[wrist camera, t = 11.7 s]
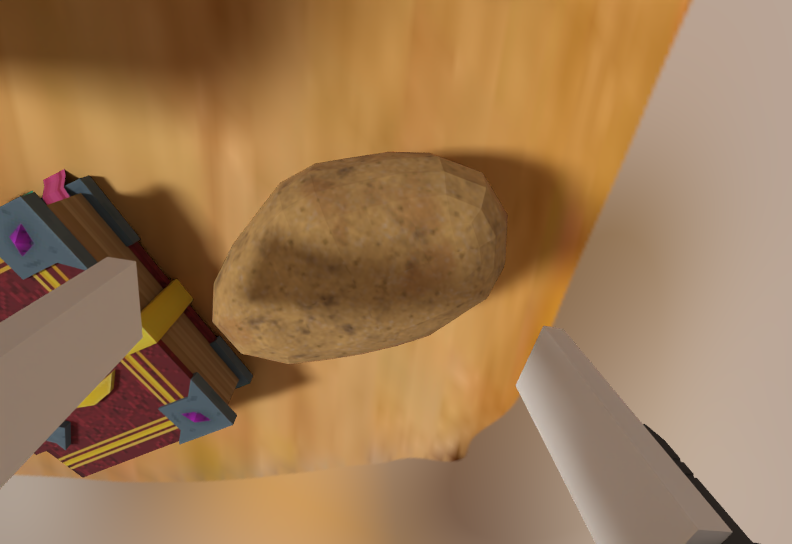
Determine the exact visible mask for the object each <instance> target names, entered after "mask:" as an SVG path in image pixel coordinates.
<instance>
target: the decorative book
mask: <svg viewBox="0 0 792 544" xmlns="http://www.w3.org/2000/svg"><path fill="white" fill-rule="evenodd" d="M65 176H66V175H65V170H62V171H60V172H58V173H56V174H54V175H52V176H50V177H48V178H46V179H44V180H43V181H44V191H43V196H42V198H39V196H38V195H37V194H36V193H35V192H33V191H31V192H29V193H27V194H25V195H23V196H20V197H18V198H16V199H14V200H12V201H11V202H9V203H7V204H5V205H3V206H1V207H0V322H2V321H3V320H5V319H7V318H8V317H10V316H12V315H13V314H15V313H16V312H18V311H20V310H21V309H23V308H25V307H26V306H28V305H30V304H31V303H33V302H34V301H36V300H38V299H39V298H41V297H43V296H44V295H46V294H48V293H49V292H51V291H52V290H54V289H56V288H57V287H59V286H61V285H62V284H64V283H66V282H67V281H69V280H70V279H72V278H74V277H75V276H77V275H79V274H80V273H82V272H83V271H85V270H87V269H88V268H90V267H92V266H93V265H95V264H97V263H98V262H100V261H101V260H103V259H105V258H106V257H112V258H118V259H125V260H131V261H136V267H137V278H138V290H139V301H140V312H141V324H142V335H143V338H142V339H141V340H140V341H139V342H138V343H137V344H136V345H135V346H134V347H133V348H132V349H131V350H130V351H129V352H128V354H127V355H126V356H125V357H124V358H123V359H122V360H121V361H120V362H119V363H118V364H117V365H116V366H115V367H114V368H113V370H112V371H111V372H110V373H109V374H108V375H107V376H106V377H105V378H104V379H103V380H102V381H101V382H100V383H99V384H98V385H97V387H96V388H95V389H94V390H93V391H92V392H91V393H90V394H89V395H88V396H87V397H86V398H85V399H84V400H83V401H82V402H81V404H80V405H79V406H78V407H77V408H76V409H75V410H74V411H73V412H72V413H71V414H70V415H69V416H68V417H67V418H66V419H65V421H64V422H63V423H62V424H61V425H60V426H59V427H58V428H57V429H56V430H55V431H54V432H53V433H52V434H51V435H50V436H49V438H48V439H47V440H46V441H45V442H44V443H43V444H42V445H41V446H40V447H39V448H38V449H37V450H36V451H35V452H34V454H36V455H37V454H39V453H42V452H45V451H47V452H49V453H50V454H52V455H53V456H54V457H56V458H57V459H58V460H60V461H61V462H62V463H64V464H65V465H66V466H68V467H69V468H70V469H72V470H73V471H75V472H76V473H77V474H79V475H80V476H81V477H85V476H88V475H91V474H93V473H96V472H99V471H101V470H104V469H106V468H109V467H112V466H114V465H117V464H120V463H122V462H125V461H127V460H130V459H133V458H135V457H138V456H141V455H143V454H146V453H148V452H151V451H154V450H156V449H159V448H162V447H164V446H167V445H169V444H172V443H175V442H177V441H179V444H182V443H185V442H188V441H190V440H193V439H196V438H199V437H201V436H204V435H207V434H209V433H212V432H215V431H218V430H220V429H223V428H226V427H228V426H231V425H233V424H234V421H235V419H236V417H237V415H236V413H235V412H234V411H233V410H232V409H231V408H230V407H229V406H228V403H229V401H230V399H231V396H232V394H233V392H234V390H235V389H236V388H239V387H242V386H244V385H247V384H249V383H250V382H251V380H252V377H253V375H252V374H251V373H250V371H249V370H248V369H247V368H246V367H245V365H244V364H243V363H242V362H241V361H240V359H239V358H238V357H237V356H236V355H235V353H234V352H233V351H232V350H231V349H230V347H229V346H228V345H227V344H226V343H225V341H224V340H223V339H222V338H221V337H220V335H219V336H218V337H217V338H216V336H215V335H214V334H213V333H212V331H211V330H210V329H209V328H208V327H207V325H206V324H205V323H204V322H203V321H202V319H201V318H200V317H199V316H198V315H197V313H196V312H195V311H194V310H193V308H192V307H191V306H190V305H189V304H190V303H191V302H192V301H193V300H194V299H193V298H192V297H191V296H190V294H189V293H188V292H187V291H186V289H185V288H184V287H183V286H182V284H181V283H180V282H179V281H178V280H177V279H175V280H173V281H171V282H170V281H169V279H168V278H167V277H166V276H165V275H164V273H163V272H162V271H161V270H160V269H159V267H158V266H157V265H156V264H155V263H154V261H153V260H152V259H151V258H150V256H149V255H148V254H147V253H146V252H145V250H144V249H143V248H142V247H141V246H140V244H139V243H138V242H137V241H139V240H140V238H139V237H138V235H137V234H136V233H135V232H134V230H133V229H132V228H131V227H130V225H129V224H128V223H127V222H126V220H125V219H124V218H123V217H122V215H121V214H120V213H119V212H118V210H117V209H116V208H115V207H114V205H113V204H112V203H111V202H110V200H109V199H108V198H107V197H106V196H105V194H104V193H103V192H102V191H101V189H100V188H99V187H98V186H97V184H96V183H95V182H94V181H93V179H92V178H91V177H90V176H86V177H83V178H79V179H77V180H75V181H74V182H72V183H70V184H68V185H66V186H64V182H65Z"/></svg>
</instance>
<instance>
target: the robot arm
mask: <svg viewBox="0 0 792 544" xmlns="http://www.w3.org/2000/svg"><path fill="white" fill-rule="evenodd" d="M142 338H143V335H142V324H141V312H140V301H139V290H138V278H137V267H136V261H131V260H125V259H118V258H112V257H106V258H105V259H103V260H101V261H100V262H98V263H97V264H95V265H93V266H92V267H90V268H88V269H87V270H85V271H83V272H82V273H80V274H79V275H77V276H75V277H74V278H72V279H70V280H69V281H67V282H66V283H64V284H62V285H61V286H59V287H57V288H56V289H54V290H52V291H51V292H49V293H48V294H46V295H44V296H43V297H41V298H39V299H38V300H36V301H34V302H33V303H31V304H30V305H28V306H26V307H25V308H23V309H21V310H20V311H18V312H16V313H15V314H13V315H12V316H10V317H8V318H7V319H5V320H3V321H2V322H0V489H1V487H2V486H3V485H4V484H5V483H6V482H7V481H8V480H9V479H10V478H11V477H12V476H13V475H14V474H15V473H16V472H17V470H18V469H19V468H20V467H21V466H22V465H23V464H24V463H25V462H26V461H27V460H28V459H29V458H30V457H31V456H32V455H33V453H34V452H35V451H36V450H37V449H38V448H39V447H40V446H41V445H42V444H43V443H44V442H45V441H46V440H47V439H48V438H49V436H50V435H51V434H52V433H53V432H54V431H55V430H56V429H57V428H58V427H59V426H60V425H61V424H62V423H63V422H64V421H65V419H66V418H67V417H68V416H69V415H70V414H71V413H72V412H73V411H74V410H75V409H76V408H77V407H78V406H79V405H80V404H81V402H82V401H83V400H84V399H85V398H86V397H87V396H88V395H89V394H90V393H91V392H92V391H93V390H94V389H95V388H96V387H97V385H98V384H99V383H100V382H101V381H102V380H103V379H104V378H105V377H106V376H107V375H108V374H109V373H110V372H111V371H112V370H113V368H114V367H115V366H116V365H117V364H118V363H119V362H120V361H121V360H122V359H123V358H124V357H125V356H126V355H127V354H128V352H129V351H130V350H131V349H132V348H133V347H134V346H135V345H136V344H137V343H138V342H139V341H140V340H141V339H142ZM516 387H517V389H518V391H519V393H520V395H521V397H522V399H523V401H524V403H525V405H526V407H527V409H528V411H529V413H530V415H531V417H532V419H533V421H534V423H535V425H536V427H537V429H538V431H539V433H540V435H541V437H542V439H543V441H544V442H545V445H546V447H547V449H548V451H549V452H550V454H551V456H552V458H553V460H554V462H555V464H556V466H557V468H558V470H559V472H560V474H561V476H562V478H563V480H564V482H565V484H566V486H567V488H568V490H569V492H570V494H571V496H572V498H573V500H574V502H575V504H576V506H577V508H578V510H579V512H580V514H581V516H582V518H583V520H584V522H585V524H586V526H587V528H588V530H589V532H590V533H591V535H592V537H593V539H594V541H595V543H596V544H758V543H753V542H752V541H751V540H750V539H749V538H748V537H747V536H746V535H745V533H744V532H743V531H742V530H741V529H740V527H739V526H738V525H737V524H736V523H735V522H734V521H733V519H732V518H731V517H730V516H729V515H728V514H727V512H725V510H724V509H723V508H722V507H721V505H720V504H719V503H718V502H717V501H716V500H715V499H714V497H713V496H712V495H711V494H710V493H709V491H708V490H707V489H706V488H705V487H704V486H703V484H702V483H701V482H700V481H699V480H698V479H697V478H694V476H693V473H692V472H691V470H690V469H689V468H688V467H687V466H686V465H685V463H683V462H681V461H680V458H679V457H678V455H677V454H676V453H675V452H674V451H673V449H672V448H671V447H670V446H669V445H668V444H667V443H666V441H665V440H664V439H662V438H661V437H660V436H659V435H658V434H656V433H655V432H654V431H653V430H651V429H650V428H649V427H648V426H647V425H645V424H642V423H641V422H640V420H639V419H638V418H637V417H636V416H635V414H634V413H633V412H632V411H631V410H630V409H629V407H628V406H627V405H626V404H625V403H624V401H623V400H622V399H621V398H620V396H619V395H618V394H617V393H616V392H615V390H613V388H612V387H611V386H610V385H609V383H608V382H607V381H606V380H605V378H604V377H603V376H602V375H601V374H600V372H599V371H598V370H597V369H596V368H595V366H594V365H593V364H592V363H591V362H590V360H589V359H588V358H587V357H586V356H585V354H584V353H583V352H582V351H581V350H580V348H579V347H578V346H577V345H576V344H575V342H574V341H573V340H572V339H571V338H570V336H569V335H568V334H567V333H566V332H565V330H563V329H560V328H554V327H547V326H543V328H542V330H541V332H540V334H539V337H538V339H537V341H536V343H535V345H534V347H533V349H532V352H531V354H530V356H529V358H528V360H527V362H526V364H525V367H524V369H523V371H522V373H521V375H520V377H519V379H518V382H517V384H516Z"/></svg>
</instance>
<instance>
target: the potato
mask: <svg viewBox="0 0 792 544" xmlns="http://www.w3.org/2000/svg"><path fill="white" fill-rule="evenodd" d="M507 217H508V215H507V213H506V211H505V210H504V208H503V206H502V205H501V203H500V201H499V200H498V198H497V196H496V195H495V193H494V191H493V189H492V188H491V186H490V184H489V183H488V181H487V179H486V178H485V176H484V174H483V173H482V172H480V171H477V170H474V169H472V168H469V167H466V166H463V165H461V164H458V163H455V162H453V161H450V160H447V159H444V158H442V157H439V156H436V155H434V154H431V153H410V152H385V153H378V154H372V155H365V156H359V157H352V158H346V159H340V160H334V161H328V162H322V163H316V164H314V165H312V166H310V167H308V168H306V169H305V170H303V171H301V172H299V173H297V174H296V175H294V176H292V177H290V178H288V179H286V180H285V181H283V182H281V183H280V184H279V185H278V186H277V188H276V189H275V190H274V192H273V193H272V194H271V195H270V197H269V198H268V199H267V201H266V202H265V203H264V204H263V206H262V207H261V208H260V210H259V211H258V212H257V213H256V215H255V216H254V217H253V219H252V220H251V221H250V223H249V224H248V225H247V227H246V228H245V229H244V230H243V232H242V233H241V234H240V236H239V237H238V238H237V240H236V241H235V242H234V244H233V246H232V247H231V249H230V251H229V253H228V255H227V257H226V259H225V261H224V263H223V265H222V268H221V270H220V272H219V274H218V276H217V278H216V280H215V282H214V290H213V318H212V322H213V323H214V324H215V325H216V326H217V327H218V329H219V330H220V331H221V332H222V333H223V334H224V335H225V336H226V337H227V339H228V340H229V341H230V342H231V343H232V344H233V345H234V346H235V347H236V348H237V350H238V351H239V352H240V353H241V354H246V355H250V356H255V357H259V358H264V359H268V360H273V361H277V362H282V363H286V364H295V363H303V362H312V361H320V360H328V359H335V358H341V357H347V356H353V355H359V354H365V353H369V352H373V351H377V350H381V349H385V348H390V347H394V346H398V345H401V344H404V343H407V342H410V341H414V340H417V339H420V338H423V337H426V336H429V335H431V334H432V333H434V332H435V331H437V330H438V329H440V328H442V327H443V326H445V325H446V324H448V323H449V322H451V321H452V320H454V319H455V318H457V317H459V316H460V315H461V314H463V313H464V312H466V311H468V310H469V309H471V308H472V307H474V306H475V305H477V304H479V303H480V302H482V301H483V300H485V299H486V298H487V297H488V295H489V293H490V291H491V290H492V288H493V286H494V284H495V282H496V281H497V279H498V277H499V275H500V273H501V271H502V270H503V268H504V264H505V256H506V236H507Z"/></svg>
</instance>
